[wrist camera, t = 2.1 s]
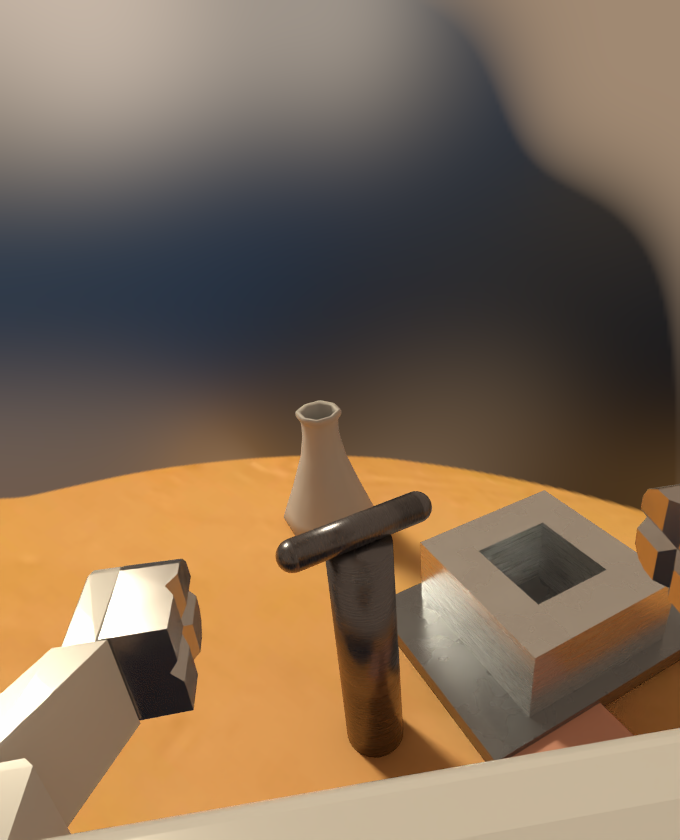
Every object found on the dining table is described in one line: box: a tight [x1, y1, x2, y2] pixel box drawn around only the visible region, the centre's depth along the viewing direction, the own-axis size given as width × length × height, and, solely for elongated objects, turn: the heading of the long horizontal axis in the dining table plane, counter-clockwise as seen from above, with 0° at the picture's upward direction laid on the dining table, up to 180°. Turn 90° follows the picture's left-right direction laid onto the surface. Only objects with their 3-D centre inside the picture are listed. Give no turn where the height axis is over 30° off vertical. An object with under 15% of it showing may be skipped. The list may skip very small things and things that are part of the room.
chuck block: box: [396, 490, 680, 762], centre depth 36 cm, size 16×12×6 cm
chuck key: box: [276, 491, 432, 757], centre depth 28 cm, size 7×3×14 cm, turn 117°
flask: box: [284, 401, 373, 536], centre depth 46 cm, size 7×7×10 cm
